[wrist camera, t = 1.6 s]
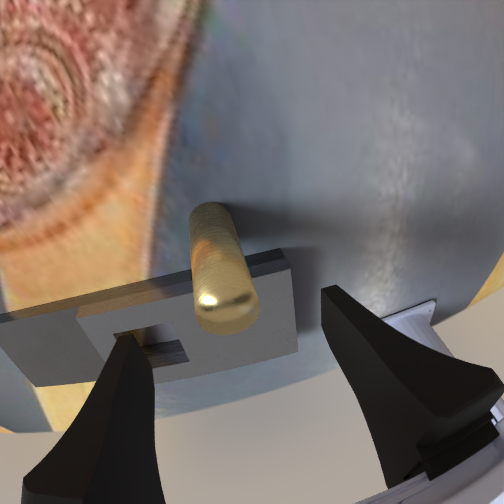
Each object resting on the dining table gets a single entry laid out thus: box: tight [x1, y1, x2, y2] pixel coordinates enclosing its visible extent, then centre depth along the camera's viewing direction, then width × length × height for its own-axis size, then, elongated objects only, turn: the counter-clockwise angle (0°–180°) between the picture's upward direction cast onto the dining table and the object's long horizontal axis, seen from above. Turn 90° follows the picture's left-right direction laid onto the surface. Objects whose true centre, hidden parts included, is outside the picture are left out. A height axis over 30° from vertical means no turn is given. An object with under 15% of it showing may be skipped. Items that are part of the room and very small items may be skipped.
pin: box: [189, 202, 260, 335], centre depth 16 cm, size 3×3×8 cm
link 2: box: [76, 248, 298, 384], centre depth 22 cm, size 8×14×2 cm, turn 99°
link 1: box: [0, 270, 192, 387], centre depth 22 cm, size 8×18×1 cm, turn 99°
